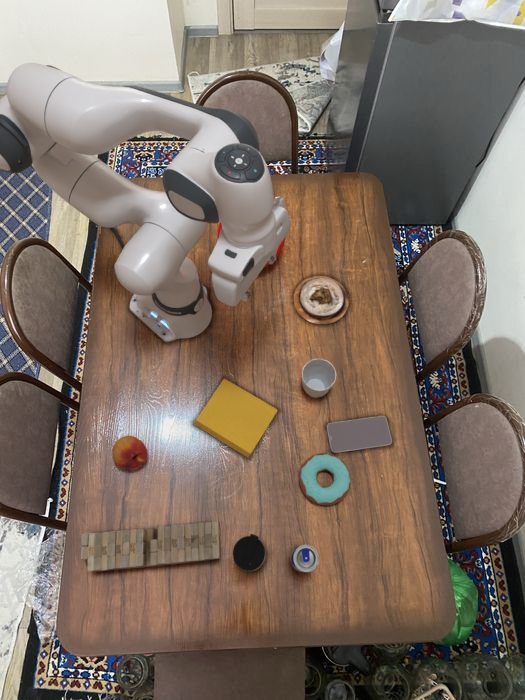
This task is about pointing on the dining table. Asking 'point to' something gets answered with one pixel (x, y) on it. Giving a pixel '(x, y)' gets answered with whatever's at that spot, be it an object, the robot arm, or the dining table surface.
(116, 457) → the fruit
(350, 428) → the smartphone
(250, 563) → the travel mug
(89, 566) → the block tower
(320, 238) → the dining table surface
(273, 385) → the dining table surface
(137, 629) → the dining table surface
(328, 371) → the cup
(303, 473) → the donut
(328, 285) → the cake on gold board
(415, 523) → the dining table surface
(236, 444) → the yellow box
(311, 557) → the beverage can
